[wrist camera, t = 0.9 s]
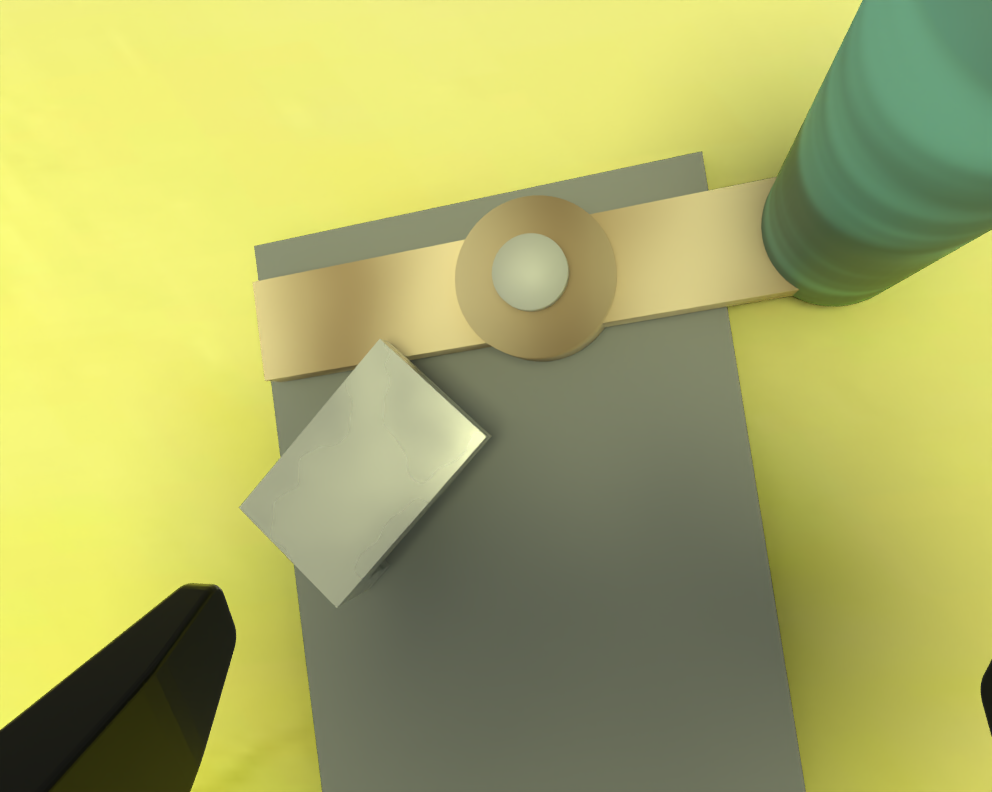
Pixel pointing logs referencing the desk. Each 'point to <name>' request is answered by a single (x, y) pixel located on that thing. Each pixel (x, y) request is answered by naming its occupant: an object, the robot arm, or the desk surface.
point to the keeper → (364, 473)
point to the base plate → (559, 553)
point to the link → (700, 220)
